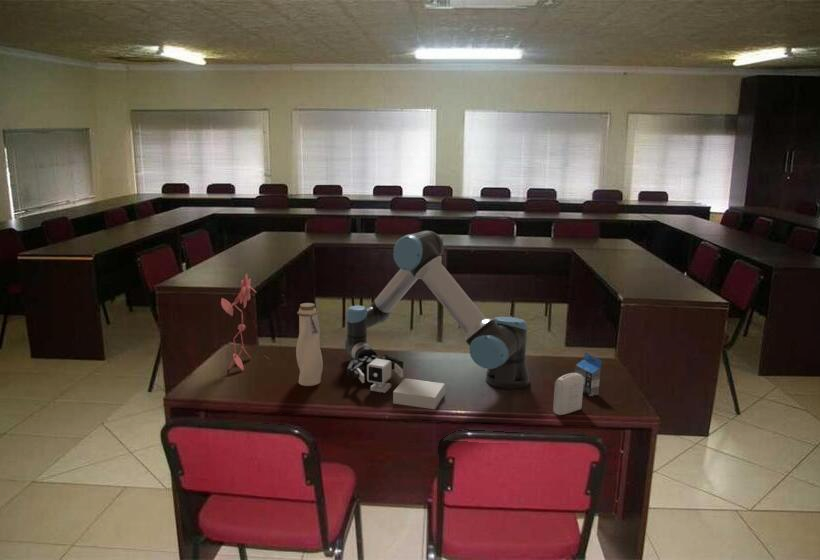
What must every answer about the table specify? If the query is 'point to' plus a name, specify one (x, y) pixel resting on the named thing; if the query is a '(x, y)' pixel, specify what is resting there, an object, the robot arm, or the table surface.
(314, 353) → the water bottle
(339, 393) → the table surface
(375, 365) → the security camera
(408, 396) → the plinth
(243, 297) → the figurine
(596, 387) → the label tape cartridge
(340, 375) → the table surface
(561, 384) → the photo printer
